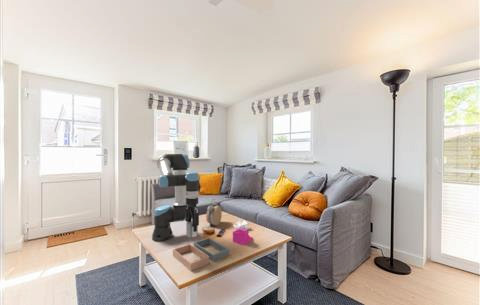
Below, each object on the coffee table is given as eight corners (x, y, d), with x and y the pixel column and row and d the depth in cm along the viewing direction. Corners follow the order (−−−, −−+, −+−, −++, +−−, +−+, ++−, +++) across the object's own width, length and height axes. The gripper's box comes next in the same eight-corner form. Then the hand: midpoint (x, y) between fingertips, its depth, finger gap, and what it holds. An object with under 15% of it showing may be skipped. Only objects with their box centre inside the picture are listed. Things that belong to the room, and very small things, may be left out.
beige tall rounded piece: (212, 221, 201) (212, 197, 201) (221, 222, 199) (221, 197, 199) (204, 227, 185) (204, 201, 185) (214, 228, 182) (214, 201, 182)
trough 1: (172, 255, 135) (172, 249, 135) (190, 249, 143) (190, 243, 143) (190, 270, 118) (190, 263, 118) (209, 263, 126) (209, 256, 126)
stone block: (186, 235, 131) (186, 222, 131) (193, 233, 135) (193, 220, 135) (190, 237, 128) (190, 224, 127) (197, 235, 131) (197, 222, 131)
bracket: (244, 245, 150) (244, 231, 150) (232, 242, 156) (232, 228, 156) (252, 239, 160) (252, 226, 160) (241, 236, 166) (241, 223, 166)
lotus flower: (232, 227, 187) (232, 217, 187) (249, 226, 187) (249, 217, 187) (232, 233, 172) (232, 222, 172) (250, 233, 173) (250, 222, 173)
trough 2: (193, 248, 145) (193, 242, 145) (208, 243, 153) (208, 237, 153) (213, 261, 128) (213, 255, 128) (228, 255, 136) (228, 248, 136)
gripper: (179, 195, 135) (179, 232, 135) (193, 201, 122) (193, 241, 122) (190, 194, 140) (190, 229, 140) (205, 199, 127) (205, 238, 127)
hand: (191, 234), depth 131 cm, fingers closed on stone block, 5 cm apart
